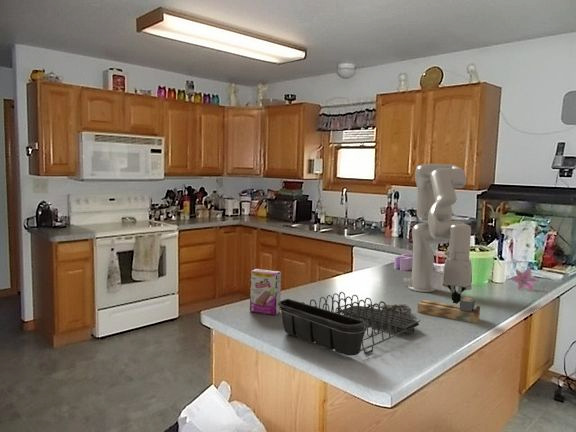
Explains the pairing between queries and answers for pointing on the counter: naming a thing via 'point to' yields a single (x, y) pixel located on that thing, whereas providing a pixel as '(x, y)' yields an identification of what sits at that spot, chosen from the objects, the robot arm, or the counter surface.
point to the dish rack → (341, 323)
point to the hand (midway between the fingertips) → (455, 302)
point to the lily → (524, 279)
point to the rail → (448, 311)
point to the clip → (404, 262)
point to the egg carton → (403, 308)
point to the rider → (467, 304)
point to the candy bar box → (265, 291)
